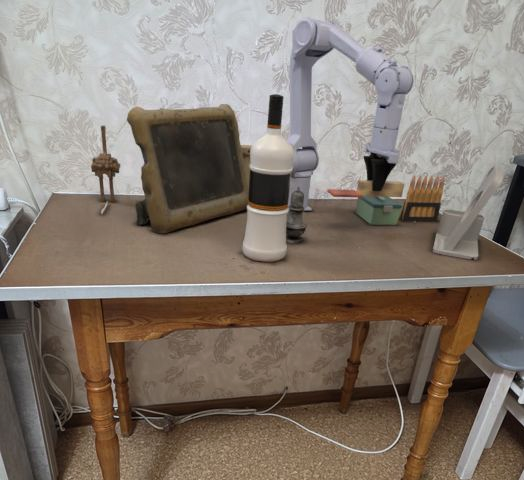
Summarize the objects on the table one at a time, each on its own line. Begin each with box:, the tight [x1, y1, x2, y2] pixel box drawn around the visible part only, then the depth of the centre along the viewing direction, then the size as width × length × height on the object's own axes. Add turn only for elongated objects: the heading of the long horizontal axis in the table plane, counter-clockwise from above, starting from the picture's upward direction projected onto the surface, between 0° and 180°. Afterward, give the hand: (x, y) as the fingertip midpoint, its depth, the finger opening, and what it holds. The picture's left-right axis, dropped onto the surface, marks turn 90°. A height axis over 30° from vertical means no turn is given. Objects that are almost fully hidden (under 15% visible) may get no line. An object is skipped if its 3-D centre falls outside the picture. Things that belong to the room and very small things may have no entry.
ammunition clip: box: [399, 174, 446, 222], centre depth 131 cm, size 11×2×12 cm, turn 104°
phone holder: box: [432, 165, 504, 261], centre depth 112 cm, size 17×10×18 cm, turn 159°
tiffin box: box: [355, 196, 403, 226], centre depth 131 cm, size 8×12×6 cm, turn 12°
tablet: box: [126, 103, 249, 235], centre depth 115 cm, size 33×14×25 cm, turn 148°
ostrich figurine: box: [90, 124, 121, 214], centre depth 119 cm, size 17×7×18 cm, turn 7°
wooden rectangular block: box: [326, 179, 405, 198], centre depth 116 cm, size 18×5×3 cm, turn 102°
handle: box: [240, 144, 252, 190], centre depth 132 cm, size 5×6×15 cm
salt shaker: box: [286, 186, 308, 245], centre depth 108 cm, size 6×6×12 cm
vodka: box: [241, 93, 294, 263], centre depth 94 cm, size 9×9×30 cm
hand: (374, 189), depth 116 cm, fingers closed on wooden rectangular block, 2 cm apart
